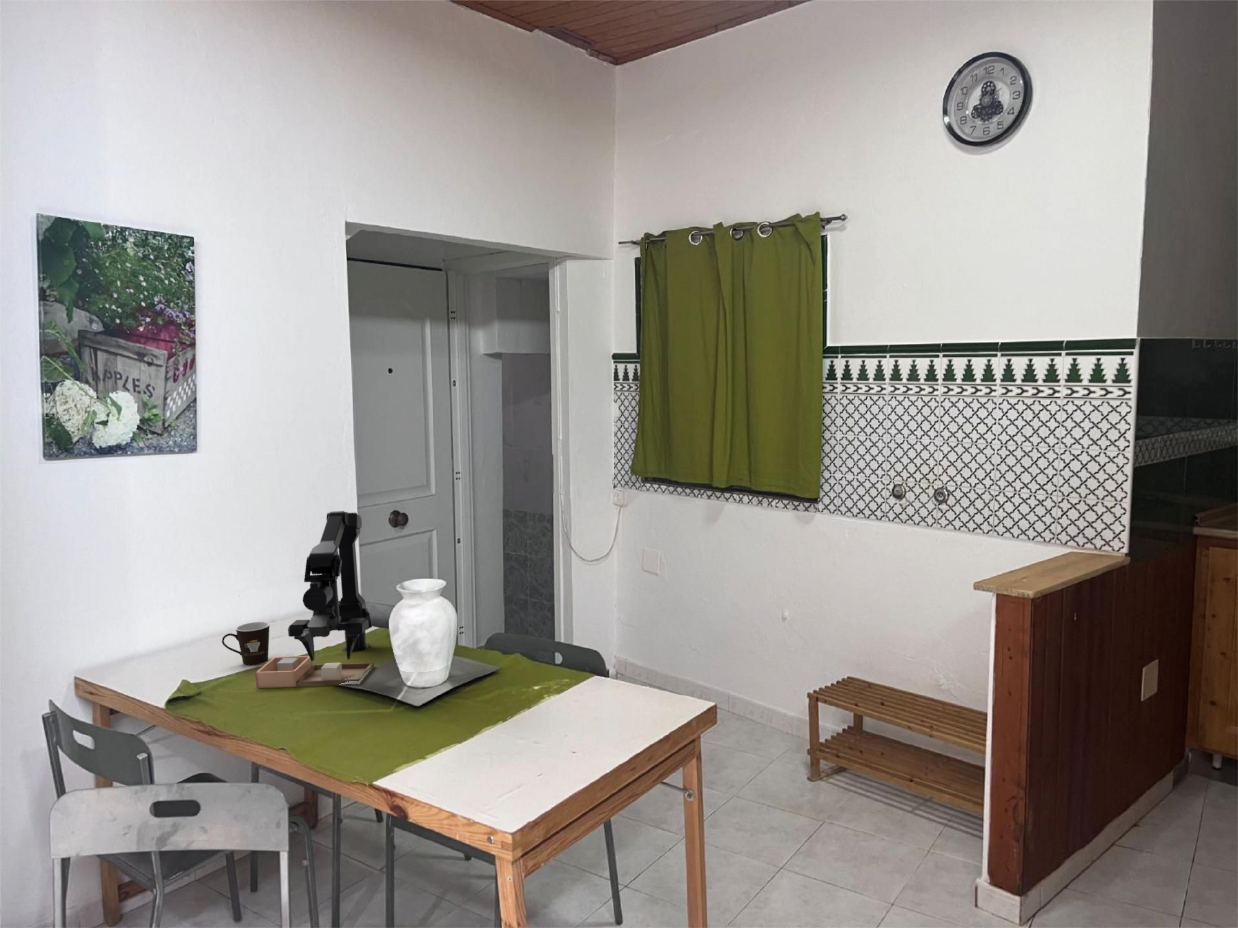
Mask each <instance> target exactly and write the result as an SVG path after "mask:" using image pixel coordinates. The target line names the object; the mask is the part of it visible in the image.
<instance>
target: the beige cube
mask: <svg viewBox="0 0 1238 928" xmlns="http://www.w3.org/2000/svg"><path fill="white" fill-rule="evenodd" d="M324 664H325V665H324V666H323V667H322V668H321V679H322V680H341V679H342V678H343V677H342V664H343V663H342V662H326V663H324Z"/></svg>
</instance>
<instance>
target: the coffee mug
mask: <svg viewBox="0 0 1238 928" xmlns="http://www.w3.org/2000/svg"><path fill="white" fill-rule="evenodd" d="M235 632H236V634H235V633H232V632H231V633H226V634H224V635H223V636H222V638H221V643H222V645H223V647H225V648H226V649H227V650H230V651H231V652H233V653H236V654H239V655H240V656H241V659H242V660H241V661H242V663H243V665H244V666H257V665H261V664H264V663H265V664H266V662H269V649H270V648H269V646H270V645H269V644H270V622H265V621H254V622H247V623H244V624H241V625H237V626H236V627H235ZM230 636H231V637H234V638H235V639H236V640H237V642H238V645H239V650H238V649H234V648H232V647H230V646H228V645H227V644H226V643H225V639H226V638H227V637H230Z"/></svg>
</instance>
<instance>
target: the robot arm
mask: <svg viewBox="0 0 1238 928" xmlns="http://www.w3.org/2000/svg"><path fill="white" fill-rule="evenodd" d="M362 521H363V520H362V517H361V515H360V514H358V513H357V512H348V511H345V510H338V511H336V510H335V511H333V510H332V511H329V512H327V513H326V523H325V526H324V529H323V532H322V535H321V538H320V541H319V543H318V544H317V545H315V546H313V547H312V548H311V551H310V553H309V554H308V556H307V557H306V560H305V561H306V562H305V570H304V577H303V579H304V580H303V582H304V583H309V588H308V589H307V590H305V592H304V593H303V597H302V603H303V606H305V609H307V610H309V611H312V617H311V618H310V619H296V620H294V621H293V622H292V623H291V624H289V626H288V628H287V631H288V633H287V635H288V637H291V638H292V637H293V639H294V640H297V641H299V642H301V644H302V645H303V647H304V648H305V650H306V652H307V656H309V657H310V659H311V661H312V662H314V660H315V656H316V655H315V642H314V640H315V639H314V638H318V637H322V638H326V637H329V636H330V633H331V632H333V631H338V632H340V631H342V632H343V631H344V643H345V647H344V648H343V649H342V650H341V652H346V658H347V660H348V661H349V660H351V657H352V654H353V652H364V651H366V649H368V648H369V647H370V646H371V643H369V642H368V643H367V635H366V634H367V633H366V632H367V630H369V629H371V628H373V621H372V617H371V614H370V611H369V609H368V607H367V605H366V600H365V599H364V597H363V596H362V595H361V593H360V592H359V589H360V588H359V577H358V565H357V564H358V563H357V551H356V548H357V547H356V542H357V540H358V538H359V536H360V534H361V529H362V523H363V522H362ZM339 577H340V581H341V582H340V585H341V586H340V587H341V598H340V600H339V592H338V579H339Z"/></svg>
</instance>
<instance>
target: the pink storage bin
mask: <svg viewBox="0 0 1238 928" xmlns="http://www.w3.org/2000/svg"><path fill="white" fill-rule="evenodd" d="M283 658H298V661H299V666H298V667H297V668H296V669H295V670H294V671H278V668H277V663H278V662H279V661H280V660H282V659H283ZM312 666H313V661H311V659H310V657H309V655H301V656H300V655H298V656H297V655H296V656H295V655H292V656H274V657H272V658H271V659H270V660H268V661H267V663H266V662H265V664H264V665H263V666H261V667H260V668H259V669H257V671H255V685H256V689H260V688H261V689H262V688H264V689H265V688H268V689H269V688H292V687H293V688H295V687H296V681H297V680H298V679H299V678H300V677H301V676H302V675H303V674H304V673H305V672H306V671H307V670H308V669H310V668H311V667H312Z"/></svg>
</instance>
